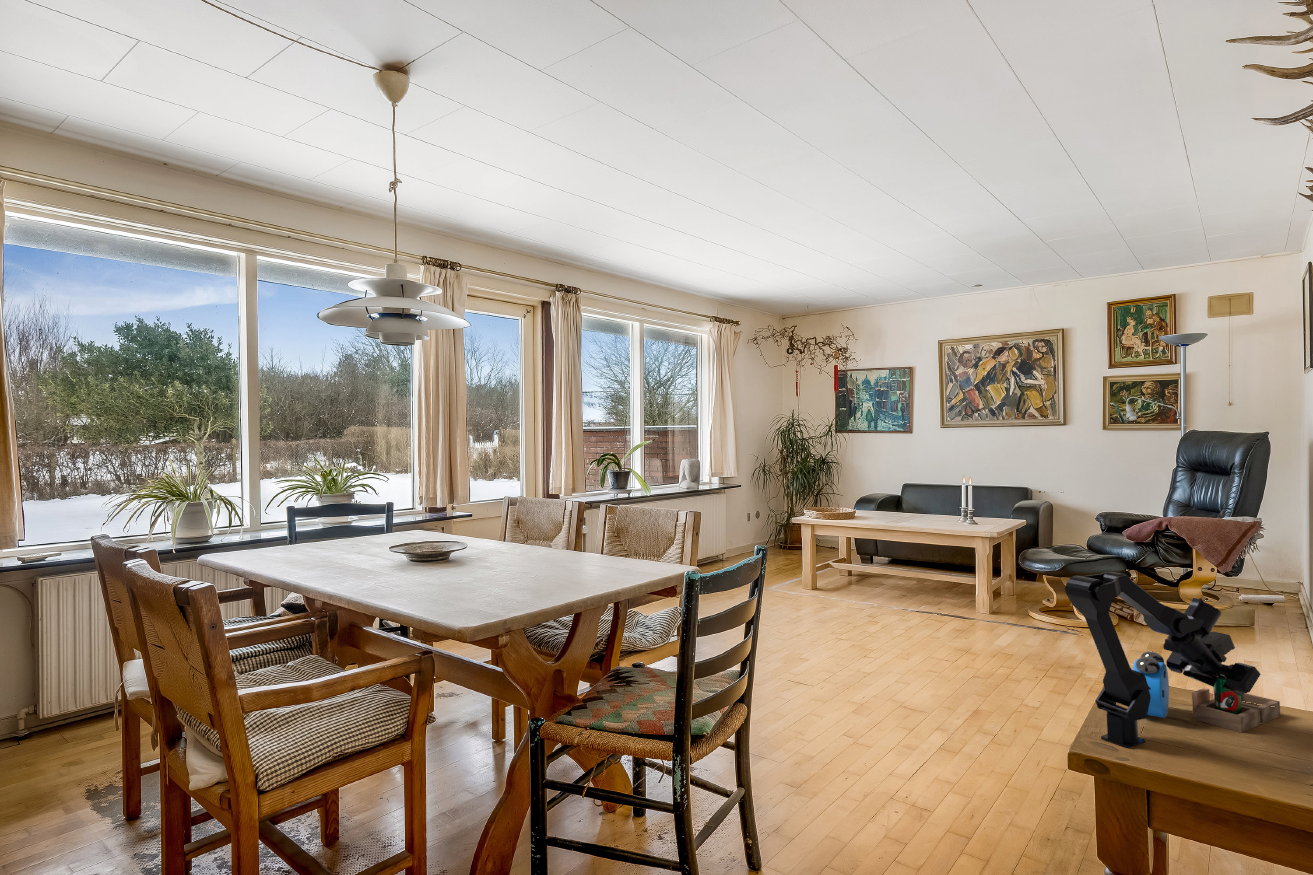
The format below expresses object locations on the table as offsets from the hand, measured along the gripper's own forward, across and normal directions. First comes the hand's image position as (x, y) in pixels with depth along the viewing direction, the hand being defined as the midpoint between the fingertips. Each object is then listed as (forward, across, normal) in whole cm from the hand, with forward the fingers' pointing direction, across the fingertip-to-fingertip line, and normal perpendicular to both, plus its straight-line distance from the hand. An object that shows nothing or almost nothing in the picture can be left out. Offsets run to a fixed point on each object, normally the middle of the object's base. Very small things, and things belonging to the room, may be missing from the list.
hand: (1230, 690), depth 168 cm
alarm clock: (-4, +9, +15) cm, 18 cm away
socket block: (+8, +1, +3) cm, 8 cm away
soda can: (+4, 0, +6) cm, 8 cm away
